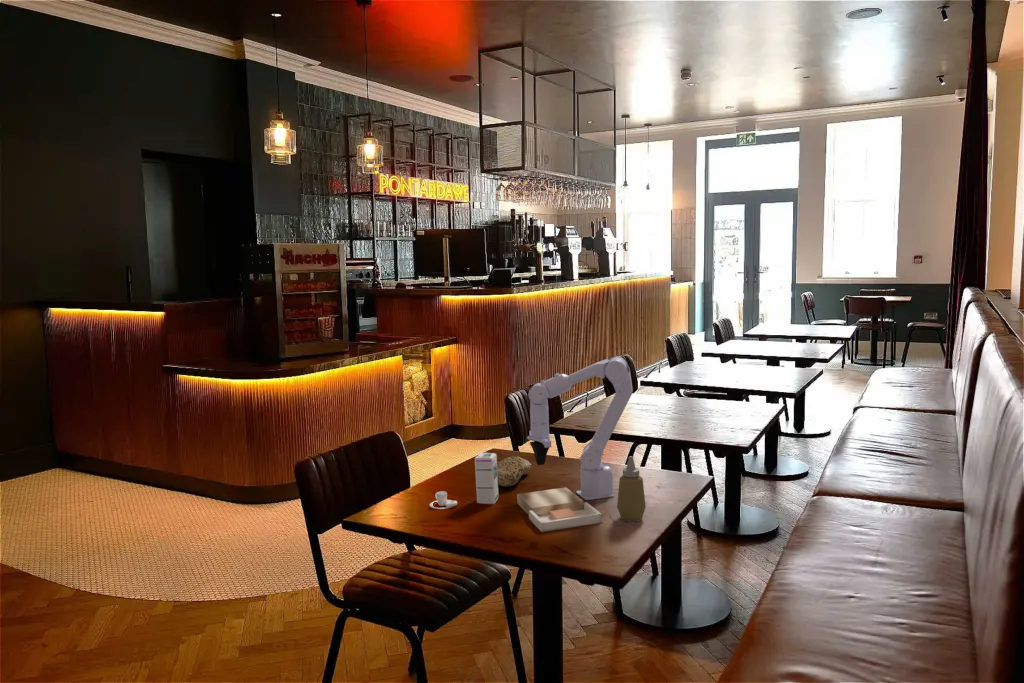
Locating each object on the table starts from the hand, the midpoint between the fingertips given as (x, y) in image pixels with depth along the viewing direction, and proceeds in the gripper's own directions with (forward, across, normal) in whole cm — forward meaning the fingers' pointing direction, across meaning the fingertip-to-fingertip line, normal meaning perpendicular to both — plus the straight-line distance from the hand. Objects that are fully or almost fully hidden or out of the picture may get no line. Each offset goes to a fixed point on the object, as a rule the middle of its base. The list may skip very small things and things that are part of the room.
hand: (540, 464), depth 226 cm
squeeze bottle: (+10, +30, +16) cm, 35 cm away
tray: (+9, +24, -2) cm, 26 cm away
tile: (+9, +24, -2) cm, 25 cm away
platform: (+9, +12, -2) cm, 16 cm away
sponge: (+10, -16, -5) cm, 19 cm away
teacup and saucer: (+10, +1, -32) cm, 34 cm away
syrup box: (+10, 0, -18) cm, 20 cm away
